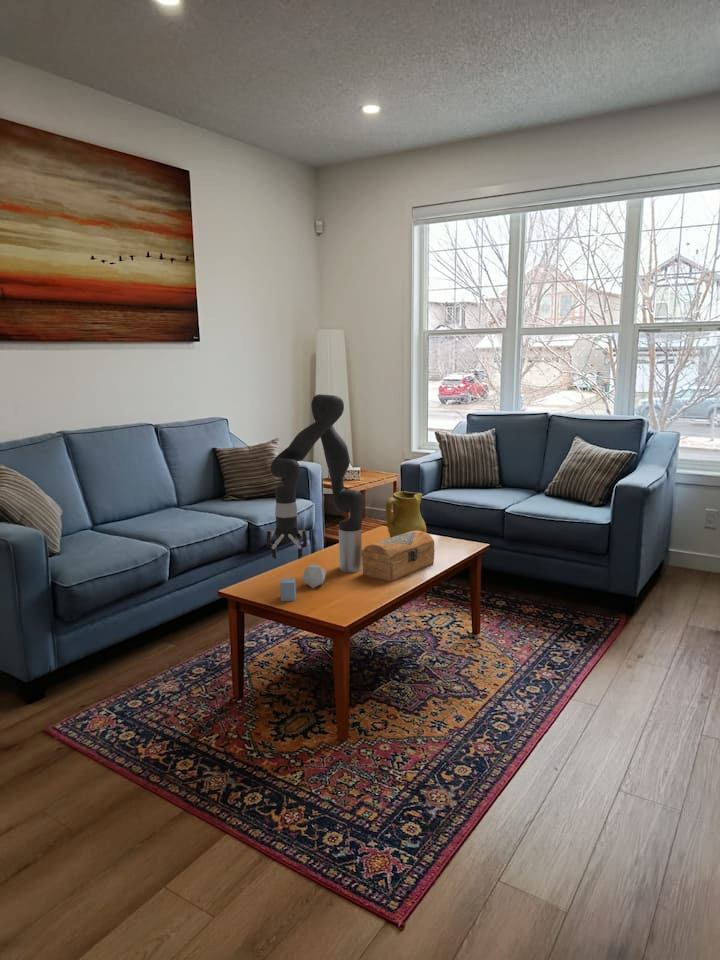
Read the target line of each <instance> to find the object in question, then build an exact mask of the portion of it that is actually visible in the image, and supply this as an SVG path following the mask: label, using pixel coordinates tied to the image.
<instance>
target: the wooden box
mask: <svg viewBox="0 0 720 960" xmlns="http://www.w3.org/2000/svg"><path fill="white" fill-rule="evenodd" d="M434 563H435V540H434V539H433V537H432V536H431V535H430V534H429V533H428V532H427V531H426V532H423V531H410V532H407V533H404V534H401V535H397V536H394V537H391V538H390V537H389V538H386V539H383V540H380V541H378V542H375V543H371V544H368V545H366V546H365V547H364V548H362V573H363V576H368V577H372V578H375V579H379V580H383V581H387V582H390V583H394V582H395V581H398V580H399V578H400V579H401V578H404V577H407V576H409V575H411V574H413V572H414V573H416V572H418V571H421V570H424V569H425V568H428V567H430V566H433V565H434ZM420 569H421V570H420ZM415 571H416V572H415ZM406 575H407V576H406Z"/></svg>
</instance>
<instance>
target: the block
mask: <svg viewBox="0 0 720 960" xmlns="http://www.w3.org/2000/svg"><path fill="white" fill-rule="evenodd" d="M296 582H297V579H296V577H295V578H294V577H293V578H289V577H288V578H287V577H286V578H284V577H283V578H281V581H280V584H279V586H280V587H279V588H280V601H281V602H290V601H291V602H295V601H296V597H297V583H296Z"/></svg>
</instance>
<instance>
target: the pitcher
mask: <svg viewBox="0 0 720 960" xmlns="http://www.w3.org/2000/svg"><path fill="white" fill-rule="evenodd" d="M423 496H424V494H423V493H421V492H412V491H406V490H403V491H395V492H394V493H393V497H389V498H387V500H386V502H385V517H386V518H385V519H386V523H387V524H386V527H387V530H388V531H387V532H388V533H389V534H388V535H389V538H391V537H394V536H397V535H401V534H404V533H407V532H410V531H423V532H426V533H427V525H426V522H425V520H424V518H423V517H422V513H421V502H422V497H423ZM393 504H395V509H394V513H393V516H392V509H393V507H392V506H393Z"/></svg>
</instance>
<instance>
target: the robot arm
mask: <svg viewBox="0 0 720 960" xmlns="http://www.w3.org/2000/svg"><path fill="white" fill-rule="evenodd" d="M310 408H311V413H312V417H313V419H314V422H313V423H311V424H310V425H308V426H307V427H305V428H303V429H302V430H300V432H298V433H297V435H296V436H295V437H294V438H293V440H292V441H291V442H290V444H289V446H288V447H286V448H285V449H283V450H282V451H281V452H280V453H279V454H278V455H277V456H276V457H275V458H274V459H273V460H272V461H271V464H270V468H269V469H270V474H271V475H272V476H273V477H275V478H278V479H284V480H283V484H280V485H277V486H276V488H275V513H274V515H275V530H272V529H268V530H267V532H266V547H267V548H270V549H271V554H272V555H271V556H272V557H271V558H273V559H274V560H277V559H278V551H277V548H278V547H277V546H278V545H279V544H280V543H284V544H285V543H288V544H289V543H293V544H294V545H295V546H296V547H297V559H298V560H300V559H301V558H302V557H303V548H306V547H307V546H308V536H307V529H306V528H305V529H303V530H300V529H299V528H298V509H297V508H298V507H297V499H296V498H297V494H296V491H297V486H298V482H299V478H300V474H301V469H300V465H299V462H301V461H303V460H305V458H306V456H307V455H308V454H309V453H310V452H311V450H312V448H313V447H314V446H315V444H316V443H317V442H318V440H319V439H320V441H321V444H322V445H321V446H322V449H323V454H324V457H325V462H326V466H327V469H328V474H329V479H330V483H331V489H332V490H331V491H332V498H333V499H332V500H333V505H334V508H335V509H336V510H337V511H338V512H341V513H349V518H346V519H343V520H340V521H339V522H338V551H339V553H338V556H339V557H338V558H339V560H338V561H339V562H338V563H339V565H338V566H339V570H340V572H343V573H357V572H361V571H363V561H362V550H363V548H362V547H363V546H362V541H363V538H362V524H363V512H364V510H363V509H364V498H363V497H364V496H363V493H362V492H361V491H360V490H356V489H355V490H354V489H346V488H345V485H344V478H345V476H346V473H347V471H348V470H349V469H348V468H349V467H350V463H351V459H350V455H349V450H348V446H347V444H346V442H345V440H344V439H343V437H341V436H340V434H339V433H338V432H337V430H336V429H335V428H334V426H333V425H334V424H335V423H336V422H338V420H339V419H340V418H341V416H342V415H343V413H344V409H345V403H344V401H343V399H342V397H340V396H338V395H333V394H321V393H320V394H316V395H314V396H313V398H312V401H311V406H310ZM299 535H300V537H302V543H301V541H300V540H299V538H298V536H299ZM273 536H275V537H277V539H276V540H275V541H274V543H272V537H273Z"/></svg>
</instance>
